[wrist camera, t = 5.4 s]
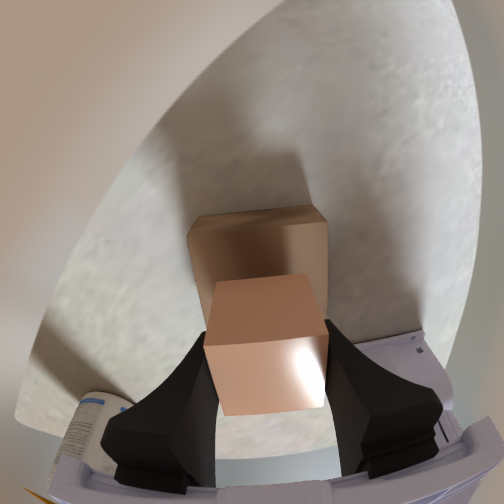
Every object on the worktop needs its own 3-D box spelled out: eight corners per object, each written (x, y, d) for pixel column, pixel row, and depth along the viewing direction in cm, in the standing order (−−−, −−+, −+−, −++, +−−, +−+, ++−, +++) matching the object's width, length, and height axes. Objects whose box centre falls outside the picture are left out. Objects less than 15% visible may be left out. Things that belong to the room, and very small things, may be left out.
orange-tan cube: (306, 272, 15) (328, 333, 10) (307, 341, 16) (322, 406, 12) (216, 281, 15) (203, 345, 10) (229, 348, 16) (224, 415, 12)
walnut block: (312, 205, 19) (327, 221, 16) (315, 303, 23) (326, 333, 19) (198, 217, 20) (186, 236, 16) (216, 313, 23) (210, 345, 19)
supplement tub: (89, 417, 30) (57, 497, 17) (78, 377, 27) (31, 473, 13) (152, 438, 31) (132, 527, 18) (153, 403, 28) (124, 515, 14)
